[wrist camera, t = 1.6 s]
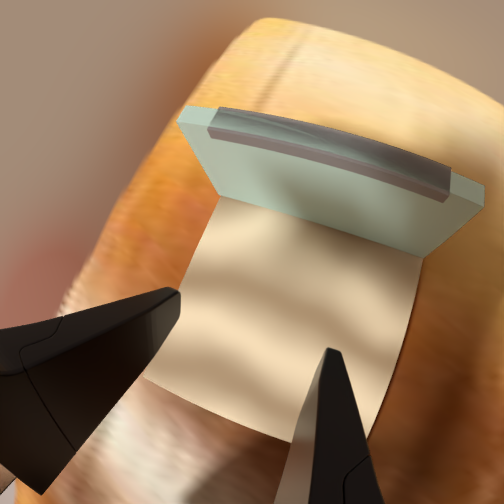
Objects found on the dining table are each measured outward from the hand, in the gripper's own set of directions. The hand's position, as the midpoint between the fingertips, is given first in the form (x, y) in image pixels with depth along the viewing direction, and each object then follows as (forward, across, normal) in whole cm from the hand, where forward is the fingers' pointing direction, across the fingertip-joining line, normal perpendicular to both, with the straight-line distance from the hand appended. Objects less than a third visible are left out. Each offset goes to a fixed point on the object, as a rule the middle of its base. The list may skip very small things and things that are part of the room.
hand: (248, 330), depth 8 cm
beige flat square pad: (+11, 0, +8) cm, 14 cm away
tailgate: (+16, 0, +1) cm, 16 cm away
